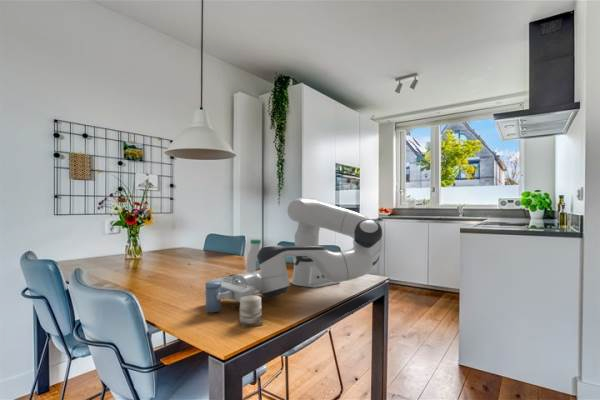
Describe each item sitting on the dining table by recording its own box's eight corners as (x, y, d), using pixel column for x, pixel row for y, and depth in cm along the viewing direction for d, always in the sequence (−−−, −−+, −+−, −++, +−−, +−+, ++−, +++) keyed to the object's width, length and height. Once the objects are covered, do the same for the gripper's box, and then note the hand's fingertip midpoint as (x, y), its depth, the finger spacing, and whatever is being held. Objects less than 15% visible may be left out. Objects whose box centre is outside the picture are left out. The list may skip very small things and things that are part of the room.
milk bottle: (249, 286, 135) (249, 240, 135) (245, 281, 142) (245, 238, 142) (266, 284, 138) (266, 239, 138) (261, 280, 145) (261, 238, 145)
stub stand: (258, 317, 98) (258, 294, 98) (264, 325, 92) (264, 300, 92) (237, 320, 95) (237, 296, 95) (241, 328, 89) (241, 303, 89)
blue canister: (220, 306, 105) (220, 280, 105) (222, 311, 100) (222, 283, 100) (204, 308, 103) (204, 281, 103) (205, 313, 98) (206, 285, 98)
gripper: (263, 300, 105) (230, 311, 95) (226, 289, 118) (194, 298, 108) (263, 282, 105) (230, 291, 95) (226, 273, 118) (194, 280, 108)
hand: (211, 295), depth 101 cm, fingers closed on blue canister, 5 cm apart
